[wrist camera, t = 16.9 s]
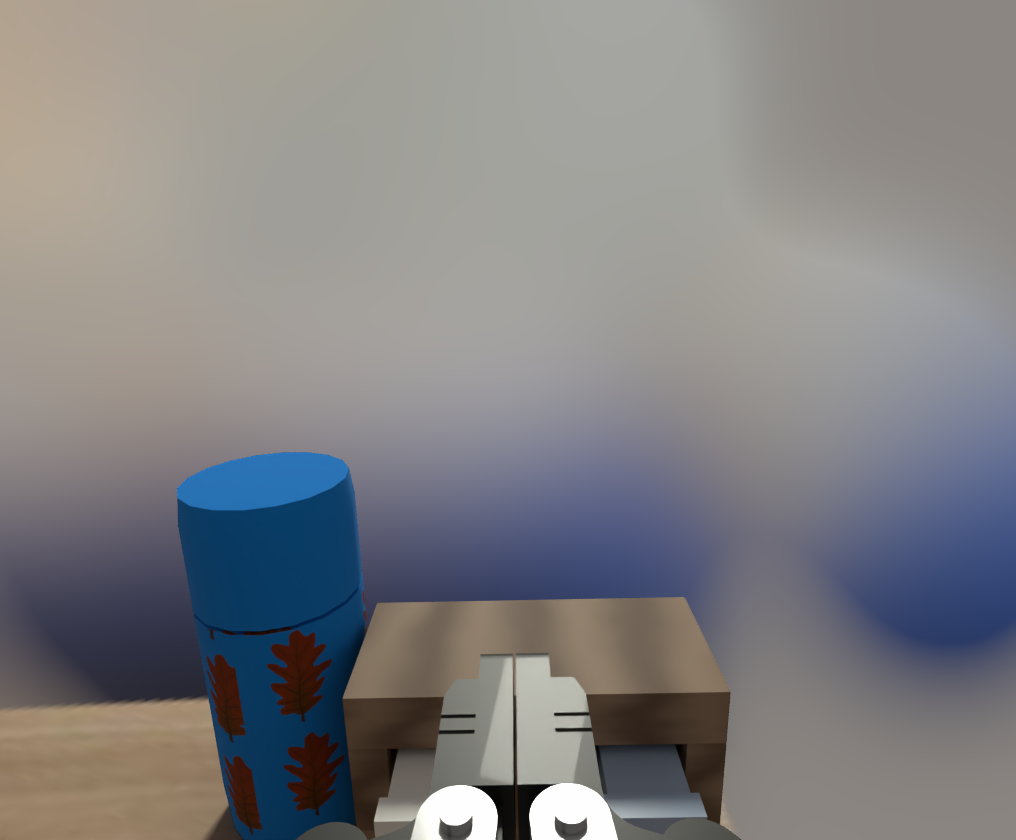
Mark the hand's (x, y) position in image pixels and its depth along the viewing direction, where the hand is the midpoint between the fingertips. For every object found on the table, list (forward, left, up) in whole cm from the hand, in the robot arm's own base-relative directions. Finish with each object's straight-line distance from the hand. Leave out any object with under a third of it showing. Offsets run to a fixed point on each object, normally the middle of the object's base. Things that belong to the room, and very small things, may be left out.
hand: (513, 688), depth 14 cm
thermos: (-16, +27, -30) cm, 44 cm away
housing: (+1, +24, -30) cm, 38 cm away
